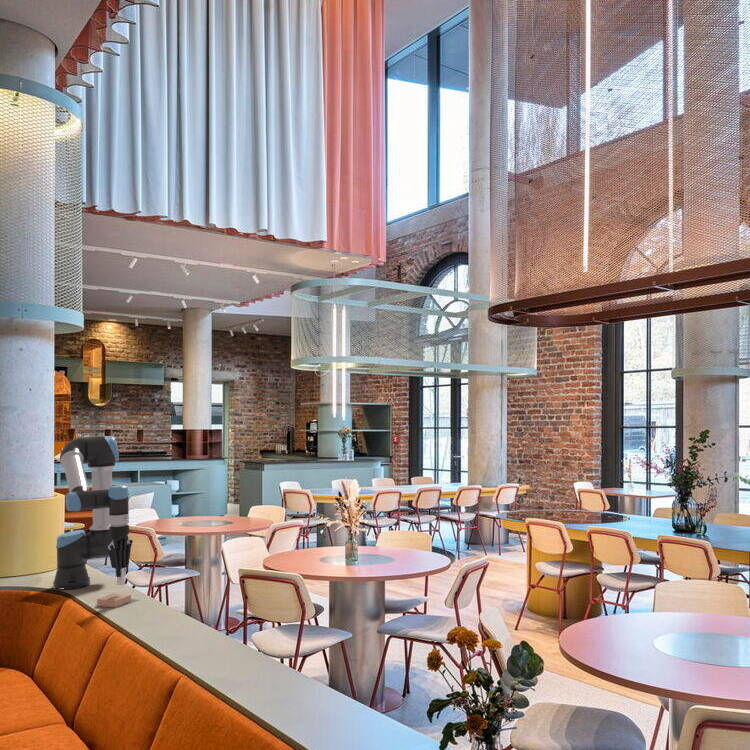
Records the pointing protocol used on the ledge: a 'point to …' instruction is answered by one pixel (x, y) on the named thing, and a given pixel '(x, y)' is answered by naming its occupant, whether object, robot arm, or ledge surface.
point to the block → (114, 600)
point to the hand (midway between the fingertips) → (120, 584)
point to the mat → (127, 603)
